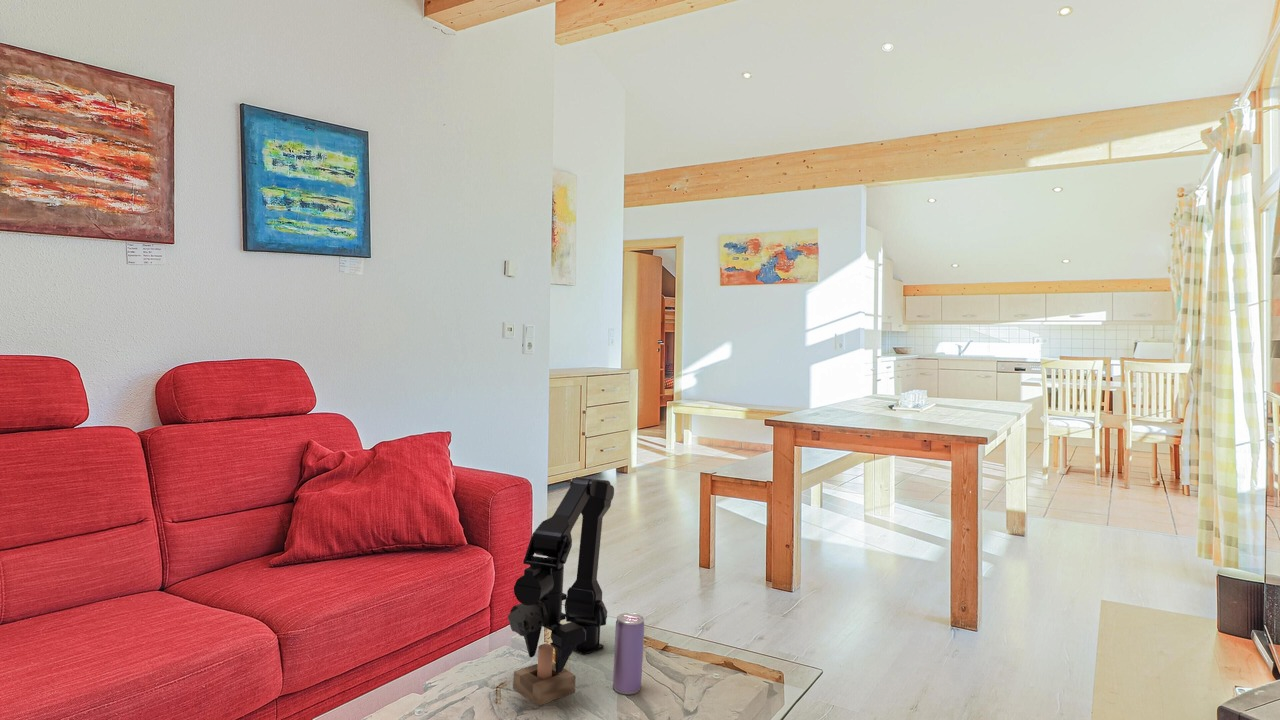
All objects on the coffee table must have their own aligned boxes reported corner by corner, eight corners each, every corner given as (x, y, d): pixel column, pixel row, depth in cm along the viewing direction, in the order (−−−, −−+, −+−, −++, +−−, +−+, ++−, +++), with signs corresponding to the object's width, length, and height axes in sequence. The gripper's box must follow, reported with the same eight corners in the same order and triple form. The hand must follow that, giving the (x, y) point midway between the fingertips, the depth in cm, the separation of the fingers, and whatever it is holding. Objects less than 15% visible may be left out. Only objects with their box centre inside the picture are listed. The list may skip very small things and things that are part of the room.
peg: (545, 685, 151) (547, 642, 151) (554, 690, 149) (556, 647, 148) (533, 689, 149) (535, 646, 149) (542, 695, 147) (544, 651, 146)
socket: (548, 676, 155) (549, 659, 155) (574, 692, 149) (575, 675, 149) (513, 688, 149) (513, 671, 149) (539, 705, 142) (539, 688, 142)
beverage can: (637, 697, 148) (641, 624, 147) (609, 693, 149) (613, 621, 149) (643, 684, 154) (647, 614, 153) (616, 680, 155) (619, 610, 154)
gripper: (489, 584, 149) (486, 659, 150) (543, 611, 136) (539, 693, 136) (534, 574, 157) (530, 645, 157) (589, 599, 144) (585, 677, 144)
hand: (544, 664), depth 149 cm, fingers open, 9 cm apart
